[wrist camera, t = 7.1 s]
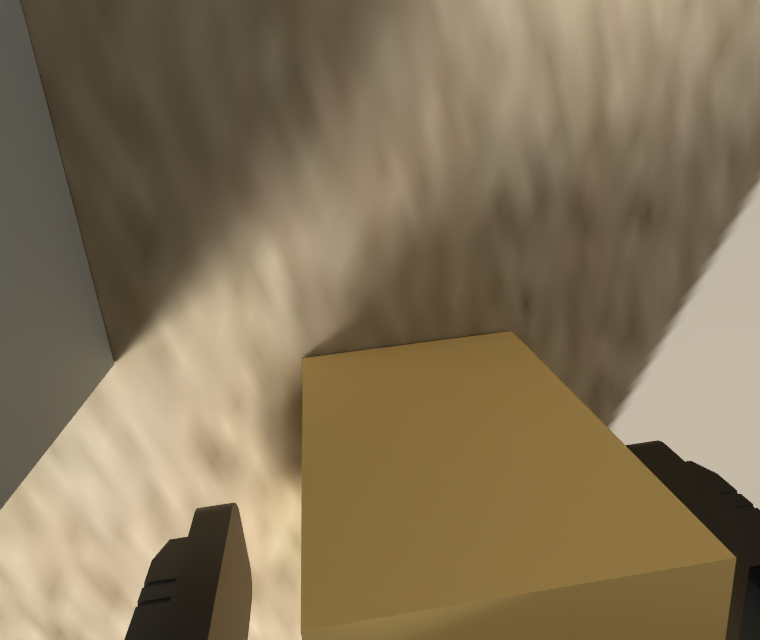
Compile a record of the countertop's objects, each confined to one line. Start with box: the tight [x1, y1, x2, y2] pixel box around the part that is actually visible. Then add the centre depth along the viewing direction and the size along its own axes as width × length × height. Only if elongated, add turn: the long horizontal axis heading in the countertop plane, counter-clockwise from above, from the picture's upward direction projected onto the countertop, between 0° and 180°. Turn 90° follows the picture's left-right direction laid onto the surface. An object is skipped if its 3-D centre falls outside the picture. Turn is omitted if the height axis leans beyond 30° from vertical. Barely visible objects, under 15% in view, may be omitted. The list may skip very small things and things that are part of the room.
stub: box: [301, 331, 736, 640], centre depth 10 cm, size 6×4×7 cm
